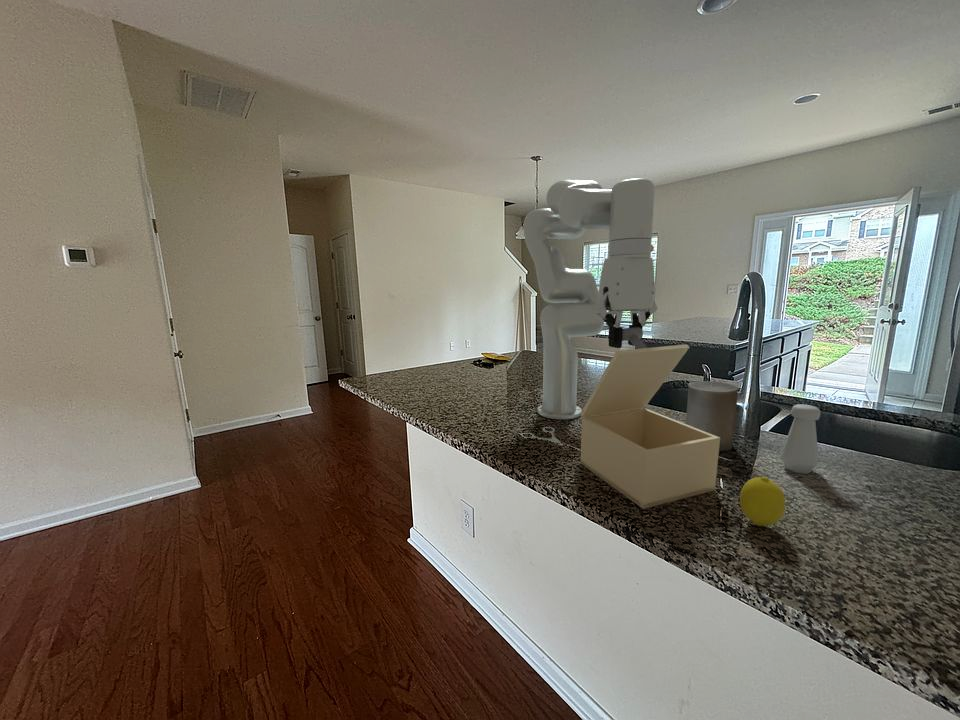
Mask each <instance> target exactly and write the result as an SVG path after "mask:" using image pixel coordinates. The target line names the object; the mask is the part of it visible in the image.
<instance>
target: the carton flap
mask: <svg viewBox="0 0 960 720" xmlns="http://www.w3.org/2000/svg"><path fill="white" fill-rule="evenodd" d="M621 328H622V342H623V341H628V340H630V341H631V343H632V344H633V345H634V346H633V345H632V346H633V347H634V348H631V349H622V350H621V349H620V350H616V351H615V352H614V354H613V356H612V358H611V360H610V361H609V363H608V364H607V366H606V368H605V370H604V371H603V374H602V375H601V377H600V378H599V380H598V382H597V384H596V385H595V387H594V389H593V391H592V392H591V394H590V396H589V398H588V399H587V401H586V403H585V405H584V406H583V408H582V409H581V410H582V412H581V413H580V417H581V418H584V417H591V416H597V415H604V414H610V413H617V412H623V411H630V410H636V409H643V408H646V407H647V405H648V404H649V403H650V401H651V400H652V399H653V397H654V396H655V394H656V393H657V392H658V391H659V389H660V388H661V386H662V385H663V384H664V383H665V381H666V380H667V378H668V377H669V376H670V374H671V373H673V371H674V369H675V368H676V367H677V366H678V364H679V362H680V361H681V359H682V358H683V357H684V355H686V353H687V352H688V350H689V349H690V346H689V345H688V344H687V343H686V344H679V345H677V344H676V345H666V346H665V345H664V346H656V347H655V346H654V347H648V346H647V345H646V343H644V342H643V340H642V341H641V340H640V339H641V338H642V339H643V335H644V331H643V329H641V328H640V327H634V328H629V327H621Z"/></svg>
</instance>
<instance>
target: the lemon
mask: <svg viewBox="0 0 960 720" xmlns="http://www.w3.org/2000/svg"><path fill="white" fill-rule="evenodd" d="M739 507H740V509H741V511H742V512H743V514H744V516H745V517H746V518H747V519H748V520H750V521H751V522H753V523H754V524H755V525H756V526H757V527H763V526H772V525H775V524H777V523H778V522H779V521H780V520H781V519H782V518H783V516H784V514H785V510H786V509H785V508H786V497H785V495H784V492H783V490H782V488H781V487H780V486H779V485H778V484H777V483H776V482H774V481H773V480H771V479H769V478H768V477H767V476H760V477H753V478H751V479H748V480H747V481H746V482H745V483H744V485H743V486H742V488H741V489H740V495H739Z"/></svg>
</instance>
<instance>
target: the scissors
mask: <svg viewBox="0 0 960 720" xmlns="http://www.w3.org/2000/svg"><path fill="white" fill-rule="evenodd" d="M545 428H546V429H550V428H551V430H546V429H545ZM542 431H543V432H544V433H547V432H549V434H550V433H551V434H550V435H551V438H549V437H548V438H547V437H538V436H536V435H535V434H534V433H531V432H523V433H518V432H517V433H518V434H520V435H521V436H522V437H521V436H520V435H519V436H520V437H521V438H523V437H524V438H523V439H527V438H531V439H535V438H537V440H540V441H541V439H542V441H547V440H548V441H547V442H550V441H551V443H553V442H554V443H553V444H556V443H561V442H562V441H560V440H559V439H558V438H557V437H556V436H554V435H556V434H555V432H554V431H555V428H554V427H551V426H544V427H543V428H542ZM523 434H524V435H528V434H530V435H529V436H524V435H523ZM531 435H532V436H531ZM555 442H556V443H555ZM562 443H564V442H562ZM562 443H561V444H562ZM564 444H566V443H564ZM567 446H571V447H573V448H575V449H574V450H576V449H577V451H579V452H581V448H579V447H578V448H577V447H575V446H572V445H570V444H567ZM574 455H575V454H574ZM574 455H572V457H574Z"/></svg>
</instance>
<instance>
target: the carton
mask: <svg viewBox="0 0 960 720" xmlns="http://www.w3.org/2000/svg"><path fill="white" fill-rule="evenodd" d="M580 440H581V441H580V450H581V451H580V465H582V466H583V467H585V468H586V469H587V468H588V469H587V470H589V471H590V472H591V473H593V474H594V475H596V476H597V477H598V478H600V479H601V480H602V481H604V482H605V483H607V484H608V485H610V486H611V487H612V488H613V489H615V490H617V491H618V492H619V493H621V494H622V495H623V496H624V497H626V498H628V499H629V500H630V501H631V502H633V503H634V504H636V505H637V506H639V507H640V508H641V509H642V510H644V509H648V508H652V507H656V506H659V505H663V504H668V503H672V502H675V501H678V500H682V499H686V498H691V497H694V496H699V495H702V494H706V493H710V492H714V491H715V490H716V484H717V483H716V482H717V472H718V463H719V454H720V451H719V445H720V437H717V436H715V435H712V434H710V433H707V432H705V431H702V430H699V429H697V428H694V427H692V426H689V425H687V424H686V423H684V422H681V421H679V420H677V419H673V418H671V417H668V416H666V415H663V414H661V413H658V412H656V411H653V410H650V409H648V408H646V407H645V408H640V409H634V410H627V411H620V412H614V413H607V414H601V415H594V416H588V417H581V438H580Z"/></svg>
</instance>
